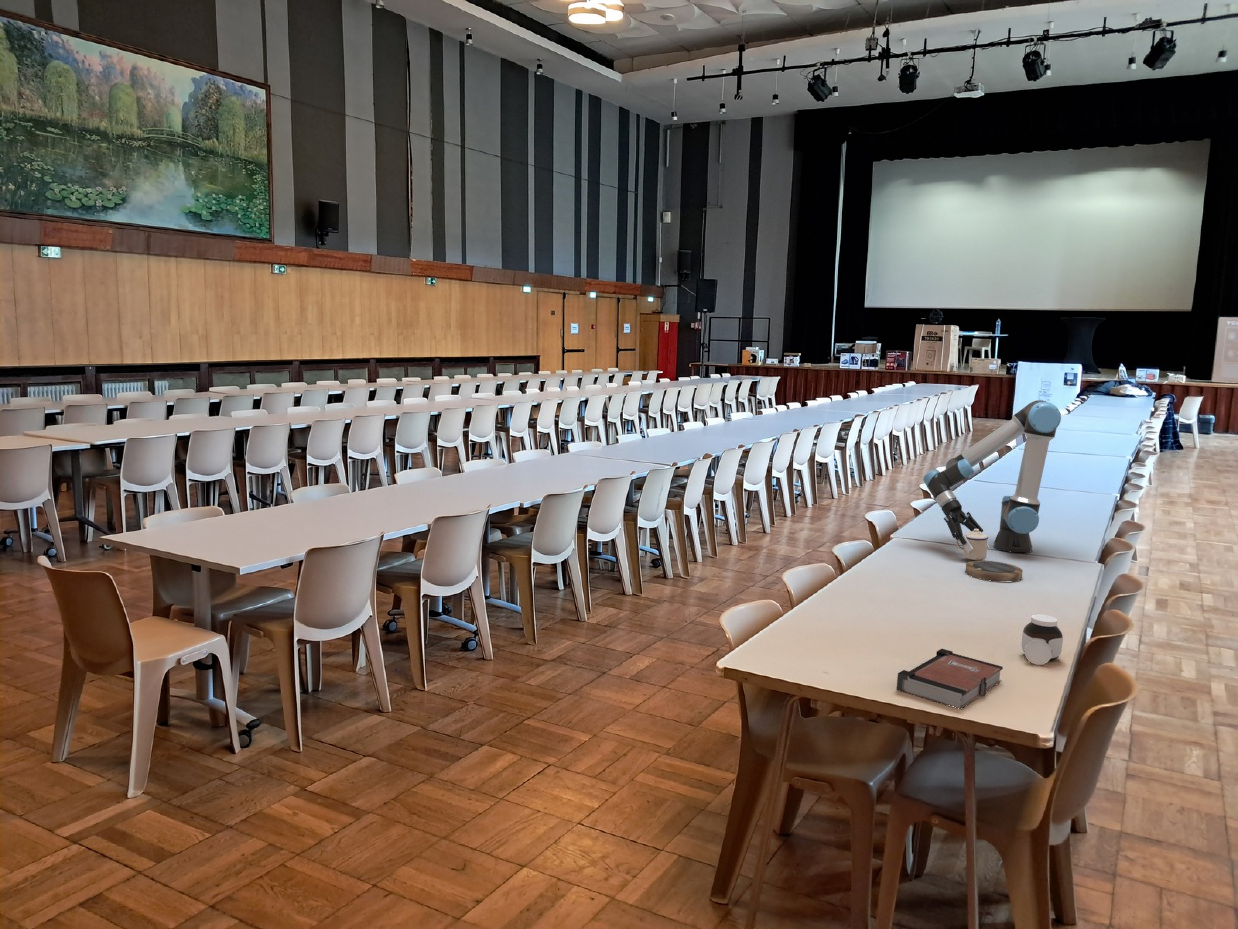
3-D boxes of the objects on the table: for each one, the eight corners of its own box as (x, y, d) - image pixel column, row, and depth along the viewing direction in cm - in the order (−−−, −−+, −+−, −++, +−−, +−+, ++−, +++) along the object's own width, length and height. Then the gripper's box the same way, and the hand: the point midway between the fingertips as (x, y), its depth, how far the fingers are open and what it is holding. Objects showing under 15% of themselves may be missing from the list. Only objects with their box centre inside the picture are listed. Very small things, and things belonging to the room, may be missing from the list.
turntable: (988, 565, 358) (988, 557, 357) (1033, 578, 341) (1034, 569, 340) (954, 571, 348) (954, 563, 347) (998, 585, 331) (999, 576, 330)
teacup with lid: (989, 556, 366) (991, 528, 364) (983, 561, 359) (985, 533, 356) (958, 551, 373) (960, 524, 371) (952, 557, 365) (954, 529, 363)
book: (963, 712, 220) (964, 693, 219) (896, 691, 232) (897, 673, 231) (1004, 683, 239) (1005, 665, 238) (940, 665, 251) (941, 648, 250)
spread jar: (1050, 652, 262) (1054, 614, 260) (1071, 667, 251) (1075, 627, 249) (1010, 652, 261) (1013, 613, 259) (1029, 666, 250) (1033, 626, 248)
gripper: (960, 506, 382) (990, 551, 371) (925, 511, 371) (954, 557, 360) (972, 496, 376) (1002, 541, 365) (936, 500, 366) (966, 547, 354)
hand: (978, 549), depth 362 cm, fingers closed on teacup with lid, 9 cm apart
